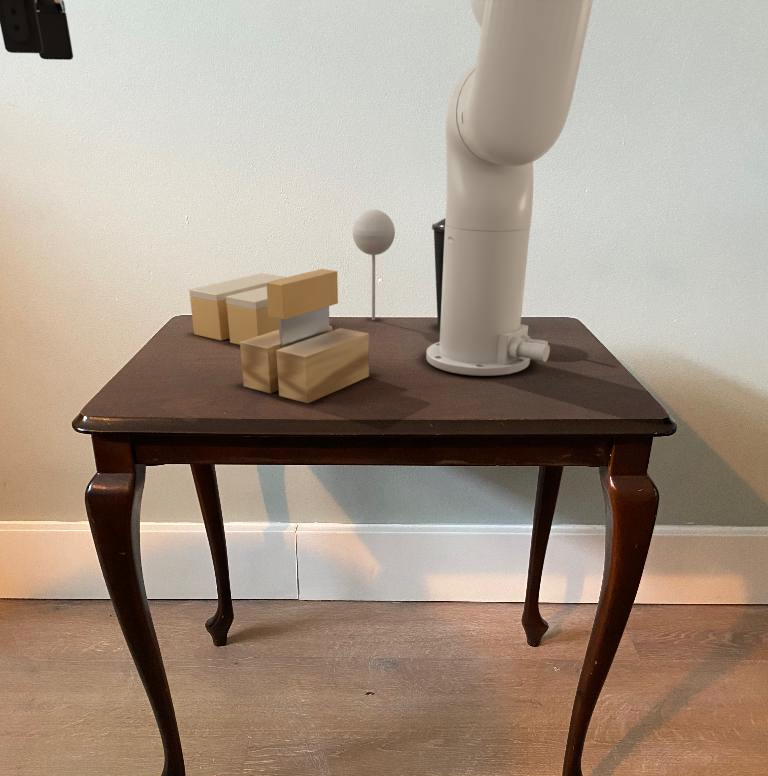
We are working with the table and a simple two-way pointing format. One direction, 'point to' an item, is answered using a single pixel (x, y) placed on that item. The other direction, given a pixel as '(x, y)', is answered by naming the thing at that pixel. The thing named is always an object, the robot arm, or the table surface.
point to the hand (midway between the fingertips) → (42, 56)
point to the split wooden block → (305, 364)
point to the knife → (302, 304)
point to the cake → (233, 309)
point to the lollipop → (373, 238)
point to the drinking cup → (439, 262)
